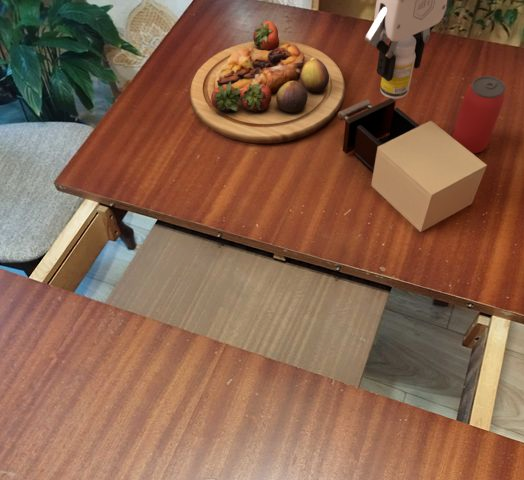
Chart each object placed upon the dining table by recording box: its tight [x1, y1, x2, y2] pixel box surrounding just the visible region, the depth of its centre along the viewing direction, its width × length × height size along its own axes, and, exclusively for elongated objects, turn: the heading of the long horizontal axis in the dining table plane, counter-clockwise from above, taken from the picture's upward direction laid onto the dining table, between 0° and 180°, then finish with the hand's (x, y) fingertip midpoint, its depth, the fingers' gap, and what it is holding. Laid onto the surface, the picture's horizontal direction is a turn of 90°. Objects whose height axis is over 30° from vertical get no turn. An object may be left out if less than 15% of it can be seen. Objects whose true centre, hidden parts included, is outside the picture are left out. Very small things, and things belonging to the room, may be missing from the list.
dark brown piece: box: [337, 98, 421, 174], centre depth 99 cm, size 17×10×7 cm, turn 32°
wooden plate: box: [189, 20, 346, 144], centre depth 109 cm, size 32×32×8 cm
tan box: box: [370, 120, 487, 233], centre depth 93 cm, size 14×12×9 cm
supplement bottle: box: [379, 36, 416, 100], centre depth 86 cm, size 5×5×8 cm
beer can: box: [451, 75, 506, 155], centre depth 97 cm, size 7×7×12 cm
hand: (398, 69), depth 86 cm, fingers closed on supplement bottle, 4 cm apart
